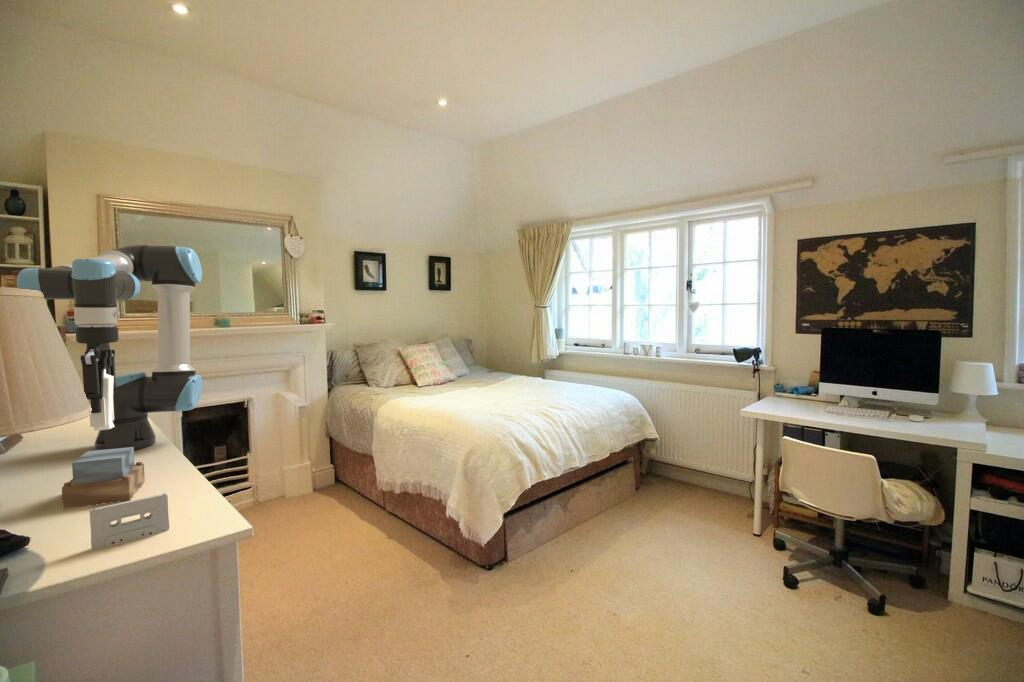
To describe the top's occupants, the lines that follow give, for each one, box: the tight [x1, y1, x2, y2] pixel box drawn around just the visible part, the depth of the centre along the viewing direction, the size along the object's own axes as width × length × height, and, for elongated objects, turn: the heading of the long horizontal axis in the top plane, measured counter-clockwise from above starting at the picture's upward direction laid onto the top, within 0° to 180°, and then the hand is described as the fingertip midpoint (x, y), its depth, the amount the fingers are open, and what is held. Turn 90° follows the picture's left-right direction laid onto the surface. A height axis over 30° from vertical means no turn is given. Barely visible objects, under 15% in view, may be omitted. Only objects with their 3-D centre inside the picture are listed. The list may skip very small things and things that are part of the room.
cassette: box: [89, 493, 170, 550], centre depth 93 cm, size 12×2×8 cm, turn 132°
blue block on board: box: [61, 447, 145, 510], centre depth 113 cm, size 12×12×10 cm
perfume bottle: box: [92, 369, 115, 432], centre depth 111 cm, size 5×4×15 cm
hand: (102, 423), depth 112 cm, fingers closed on perfume bottle, 5 cm apart
